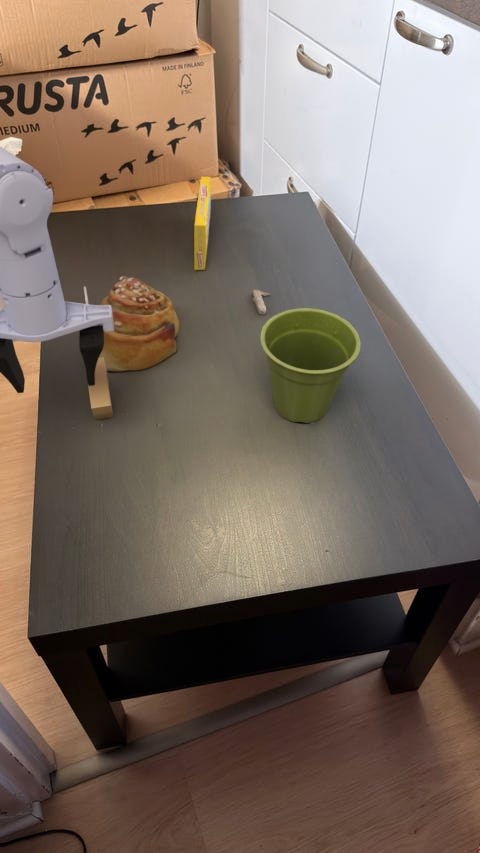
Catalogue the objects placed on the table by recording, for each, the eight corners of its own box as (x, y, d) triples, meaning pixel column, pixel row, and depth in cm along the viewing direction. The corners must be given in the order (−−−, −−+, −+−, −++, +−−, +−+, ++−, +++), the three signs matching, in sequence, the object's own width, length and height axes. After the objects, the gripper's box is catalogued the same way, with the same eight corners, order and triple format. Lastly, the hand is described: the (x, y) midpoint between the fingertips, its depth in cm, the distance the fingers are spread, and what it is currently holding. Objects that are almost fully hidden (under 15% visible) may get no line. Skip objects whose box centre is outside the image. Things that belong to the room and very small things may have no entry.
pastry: (177, 302, 96) (174, 257, 90) (183, 368, 86) (179, 322, 80) (90, 308, 95) (81, 262, 89) (86, 375, 85) (75, 329, 79)
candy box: (207, 271, 102) (205, 225, 96) (194, 271, 102) (191, 225, 96) (212, 219, 113) (211, 175, 107) (200, 219, 113) (198, 175, 107)
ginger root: (277, 311, 94) (258, 311, 93) (276, 315, 95) (257, 315, 94) (268, 288, 98) (250, 288, 97) (267, 293, 99) (249, 293, 98)
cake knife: (113, 417, 80) (110, 405, 77) (94, 420, 80) (91, 408, 76) (95, 295, 87) (92, 280, 84) (78, 297, 87) (74, 282, 84)
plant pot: (327, 451, 77) (340, 385, 68) (241, 418, 80) (243, 352, 72) (359, 390, 84) (374, 324, 75) (279, 363, 87) (285, 297, 79)
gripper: (104, 250, 63) (121, 353, 73) (-46, 262, 61) (-8, 365, 71) (105, 292, 58) (123, 395, 68) (-57, 306, 56) (-14, 409, 66)
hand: (56, 383), depth 69 cm, fingers open, 7 cm apart
